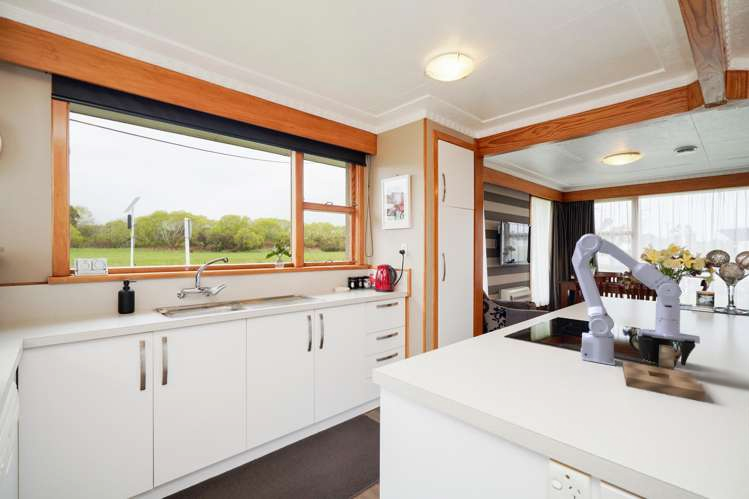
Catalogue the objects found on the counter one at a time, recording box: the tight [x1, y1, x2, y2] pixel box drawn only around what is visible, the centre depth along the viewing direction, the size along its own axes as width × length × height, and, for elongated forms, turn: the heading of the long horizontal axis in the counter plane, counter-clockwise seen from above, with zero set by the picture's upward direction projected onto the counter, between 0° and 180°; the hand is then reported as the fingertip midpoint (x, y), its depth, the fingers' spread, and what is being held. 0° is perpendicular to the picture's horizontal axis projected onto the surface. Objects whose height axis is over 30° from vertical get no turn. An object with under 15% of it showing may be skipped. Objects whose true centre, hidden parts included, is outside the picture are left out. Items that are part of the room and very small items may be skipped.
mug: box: [628, 328, 672, 364], centre depth 117 cm, size 12×9×10 cm
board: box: [622, 361, 706, 403], centre depth 95 cm, size 16×16×2 cm
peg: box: [657, 345, 676, 370], centre depth 104 cm, size 4×4×8 cm
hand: (666, 362), depth 104 cm, fingers open, 7 cm apart
